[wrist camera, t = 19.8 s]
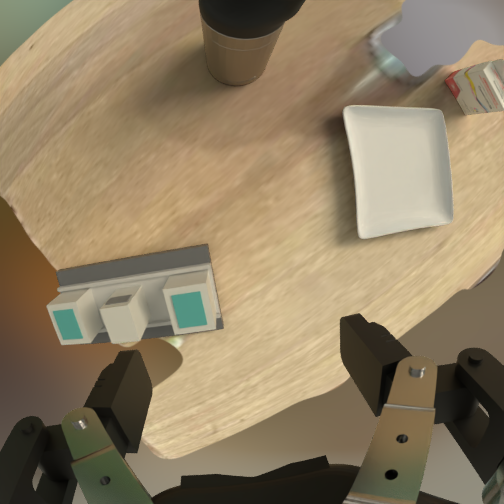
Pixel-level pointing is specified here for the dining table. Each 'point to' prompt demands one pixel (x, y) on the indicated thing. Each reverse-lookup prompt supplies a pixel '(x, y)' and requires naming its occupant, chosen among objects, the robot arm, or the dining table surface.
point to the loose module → (126, 314)
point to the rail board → (155, 288)
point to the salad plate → (399, 168)
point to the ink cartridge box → (479, 87)
